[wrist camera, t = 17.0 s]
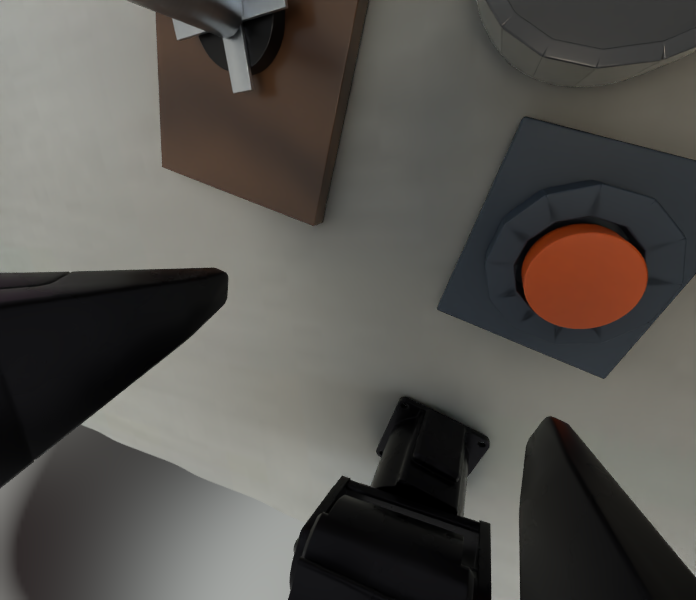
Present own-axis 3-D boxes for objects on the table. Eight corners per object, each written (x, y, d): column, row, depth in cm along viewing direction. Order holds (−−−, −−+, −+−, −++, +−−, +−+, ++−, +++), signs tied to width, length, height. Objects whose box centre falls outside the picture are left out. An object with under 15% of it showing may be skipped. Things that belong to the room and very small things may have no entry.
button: (594, 325, 15) (605, 345, 13) (505, 291, 16) (505, 306, 14) (657, 243, 13) (677, 255, 11) (550, 209, 14) (556, 217, 12)
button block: (598, 366, 18) (614, 402, 15) (439, 301, 20) (430, 324, 17) (755, 178, 13) (817, 186, 10) (522, 117, 15) (526, 112, 12)
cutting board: (322, 222, 21) (313, 226, 20) (176, 166, 24) (161, 167, 23) (422, -252, 12) (415, -289, 11) (167, -254, 15) (142, -283, 14)
